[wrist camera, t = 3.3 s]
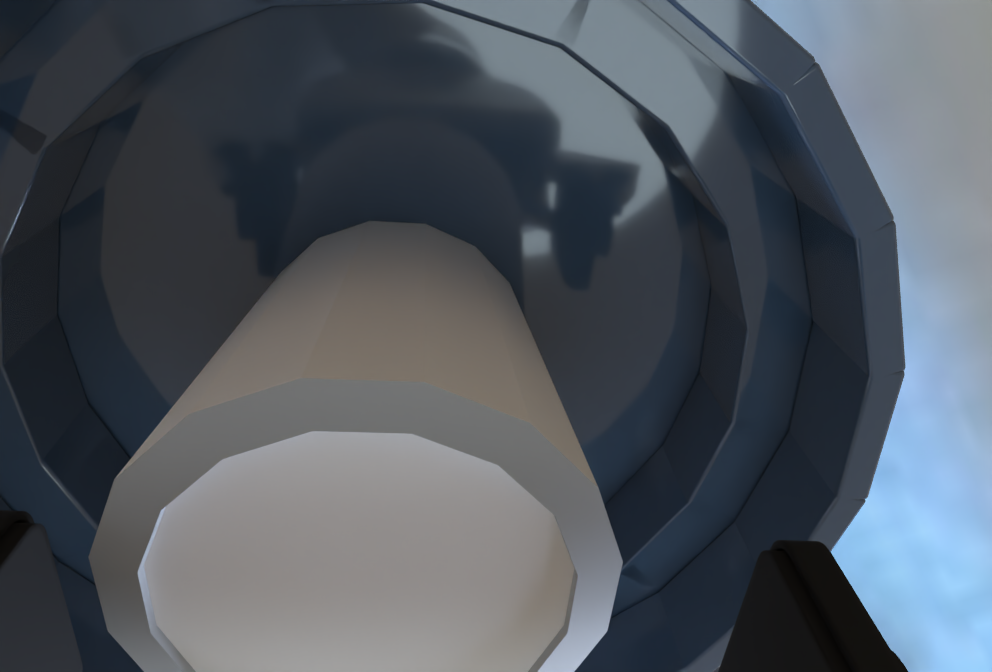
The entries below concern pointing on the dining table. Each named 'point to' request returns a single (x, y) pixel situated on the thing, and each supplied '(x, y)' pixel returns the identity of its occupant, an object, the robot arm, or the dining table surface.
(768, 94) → the bowl
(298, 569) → the white cup
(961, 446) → the dining table surface
